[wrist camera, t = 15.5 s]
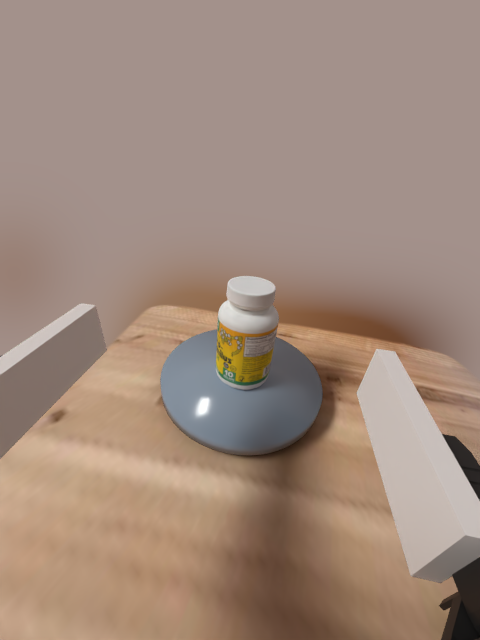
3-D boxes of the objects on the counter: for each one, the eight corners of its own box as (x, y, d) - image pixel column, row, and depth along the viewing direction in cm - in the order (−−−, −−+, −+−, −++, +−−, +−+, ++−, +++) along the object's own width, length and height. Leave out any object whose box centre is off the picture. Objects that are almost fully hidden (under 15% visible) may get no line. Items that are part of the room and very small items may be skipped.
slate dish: (292, 342, 35) (295, 329, 34) (345, 456, 21) (352, 442, 20) (172, 339, 33) (171, 326, 32) (146, 465, 19) (143, 450, 18)
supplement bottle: (277, 385, 25) (297, 296, 20) (224, 397, 23) (231, 302, 18) (255, 351, 29) (267, 271, 24) (209, 359, 27) (212, 274, 22)
